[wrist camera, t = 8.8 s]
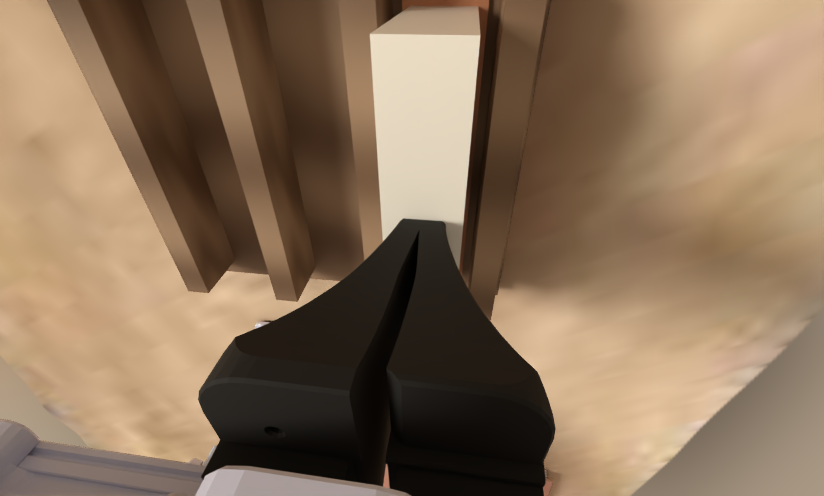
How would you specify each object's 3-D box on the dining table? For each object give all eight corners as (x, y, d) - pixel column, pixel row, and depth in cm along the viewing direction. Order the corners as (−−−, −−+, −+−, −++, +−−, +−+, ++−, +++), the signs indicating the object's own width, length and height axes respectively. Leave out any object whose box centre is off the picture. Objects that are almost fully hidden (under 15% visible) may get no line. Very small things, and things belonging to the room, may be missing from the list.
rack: (496, 283, 23) (499, 334, 20) (221, 259, 25) (185, 302, 22) (561, -87, 13) (589, -102, 10) (89, -79, 15) (-14, -89, 12)
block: (456, 260, 21) (450, 367, 16) (412, 257, 21) (390, 360, 16) (478, 6, 14) (480, 35, 8) (410, 5, 14) (369, 33, 9)
